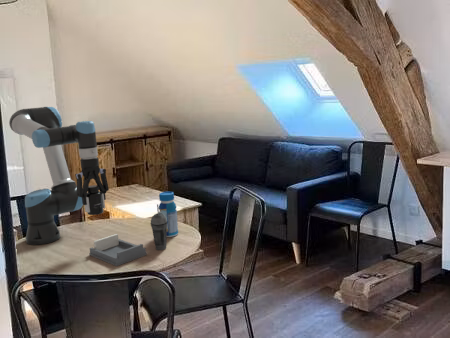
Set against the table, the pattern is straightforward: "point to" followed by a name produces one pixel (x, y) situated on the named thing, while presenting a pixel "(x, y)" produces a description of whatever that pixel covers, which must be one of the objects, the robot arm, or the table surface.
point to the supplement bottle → (95, 200)
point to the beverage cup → (159, 230)
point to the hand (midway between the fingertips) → (95, 209)
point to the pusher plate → (106, 242)
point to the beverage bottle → (169, 212)
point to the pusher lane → (119, 253)
